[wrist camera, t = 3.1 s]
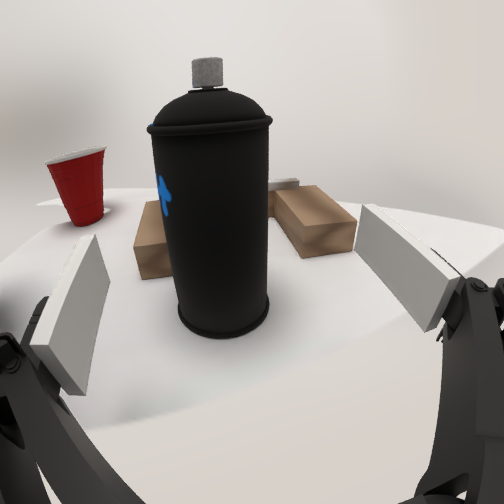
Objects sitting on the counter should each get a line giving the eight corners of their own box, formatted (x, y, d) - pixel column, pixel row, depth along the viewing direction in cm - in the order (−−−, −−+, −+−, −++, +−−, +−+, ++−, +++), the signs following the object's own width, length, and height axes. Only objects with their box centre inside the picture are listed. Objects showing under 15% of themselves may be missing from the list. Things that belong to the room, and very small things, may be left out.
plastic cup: (126, 202, 48) (116, 137, 41) (103, 231, 38) (87, 153, 32) (77, 208, 47) (65, 148, 41) (50, 236, 38) (31, 166, 32)
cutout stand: (141, 279, 29) (130, 236, 26) (150, 228, 39) (144, 193, 36) (351, 250, 33) (358, 211, 30) (313, 209, 43) (315, 177, 40)
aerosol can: (276, 283, 28) (281, 61, 18) (258, 348, 21) (256, 45, 11) (198, 272, 30) (179, 68, 19) (163, 328, 23) (115, 68, 12)
